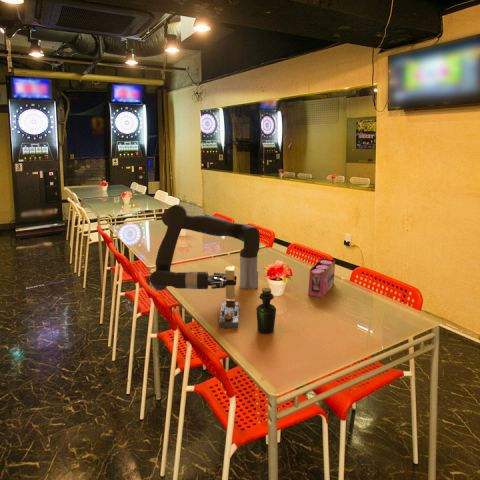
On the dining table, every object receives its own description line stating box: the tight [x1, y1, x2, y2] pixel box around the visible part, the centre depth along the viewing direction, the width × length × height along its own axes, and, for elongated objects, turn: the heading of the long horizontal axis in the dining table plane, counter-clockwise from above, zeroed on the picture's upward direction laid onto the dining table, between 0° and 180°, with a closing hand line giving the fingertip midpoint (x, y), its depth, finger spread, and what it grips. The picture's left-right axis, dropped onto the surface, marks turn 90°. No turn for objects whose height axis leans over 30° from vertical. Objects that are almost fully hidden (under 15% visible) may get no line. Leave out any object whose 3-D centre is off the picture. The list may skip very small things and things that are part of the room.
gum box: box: [307, 258, 336, 298], centre depth 216 cm, size 24×8×14 cm, turn 154°
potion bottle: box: [255, 287, 277, 335], centre depth 170 cm, size 8×8×18 cm
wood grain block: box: [225, 266, 236, 300], centre depth 180 cm, size 5×4×13 cm
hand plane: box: [218, 297, 240, 329], centre depth 184 cm, size 22×8×5 cm, turn 179°
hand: (236, 280), depth 180 cm, fingers closed on wood grain block, 5 cm apart
